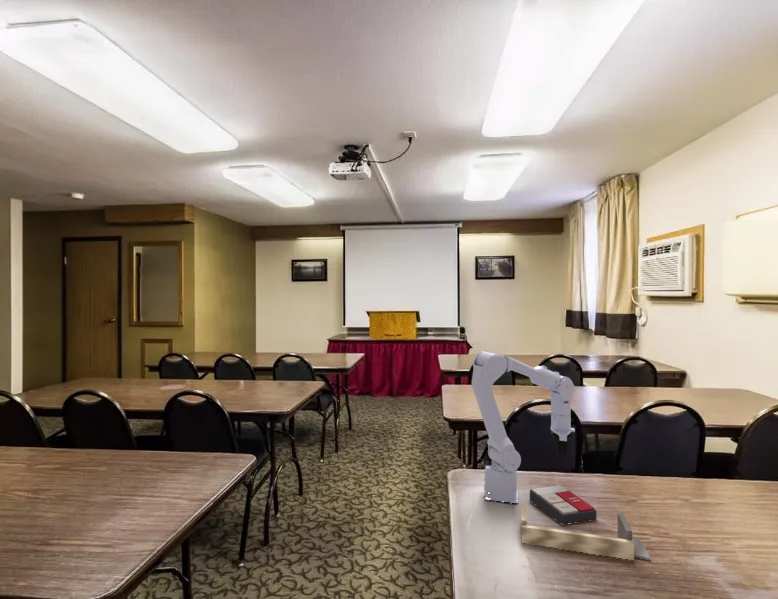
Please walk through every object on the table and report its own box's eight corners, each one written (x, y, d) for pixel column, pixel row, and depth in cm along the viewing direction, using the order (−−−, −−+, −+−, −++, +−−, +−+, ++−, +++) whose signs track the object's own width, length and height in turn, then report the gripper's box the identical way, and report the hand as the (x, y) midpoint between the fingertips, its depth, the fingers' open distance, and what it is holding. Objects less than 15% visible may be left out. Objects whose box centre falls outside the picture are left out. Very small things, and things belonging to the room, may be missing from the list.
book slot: (521, 543, 102) (521, 518, 102) (521, 522, 112) (521, 500, 112) (652, 563, 94) (651, 536, 94) (639, 539, 104) (639, 515, 104)
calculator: (563, 513, 111) (529, 487, 125) (562, 529, 111) (528, 501, 125) (597, 507, 114) (560, 482, 128) (597, 523, 114) (560, 496, 128)
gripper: (577, 420, 124) (578, 467, 124) (571, 409, 138) (572, 451, 138) (552, 418, 126) (552, 464, 126) (548, 408, 140) (549, 449, 140)
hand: (561, 457), depth 132 cm, fingers closed
